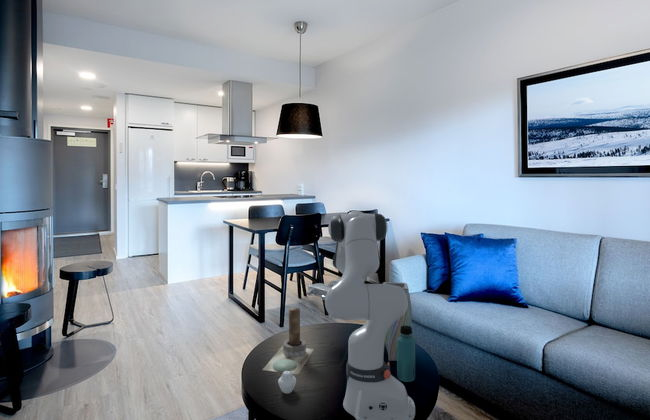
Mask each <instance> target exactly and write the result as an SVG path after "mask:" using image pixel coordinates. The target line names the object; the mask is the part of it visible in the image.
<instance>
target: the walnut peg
mask: <svg viewBox="0 0 650 420" xmlns="http://www.w3.org/2000/svg"><path fill="white" fill-rule="evenodd" d="M288 339H289V345H290V346H298V345H300V339H301V309H300V308H299V307H289V309H288Z"/></svg>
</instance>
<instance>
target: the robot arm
mask: <svg viewBox="0 0 650 420" xmlns="http://www.w3.org/2000/svg"><path fill="white" fill-rule="evenodd" d="M327 229H328V234H329V236H330V238H331V240H332V241H334V242H336V245H335V246H336V247H335V252H334V255H333V257H332V266H333V268H335V270H338V271H339V272H340V273H341V274H342V276H341V277H340V278H338V279H332V280H331V281H329V282H328V284H325V283H322V282H321V283H314V284H313V283H312V284H309V285H308V287H307V289H308V290H307V291H306V296H310V297H311V296H312V295H314V296H317V297H321V299H322V300H323V301H324V306H325V309H326V312H327V314H328V315H329V316H330V317H331V318H333V319H338V320H341V321H366V322H365V323H364V325H362V326H361V327H359V328H357V329H355V330H354V331H352V333H351V334H350V335H349V338H348V347H347V348H348V352H347V353H348V356H347V357H348V358H347V361H346V379H347V380H346V381H347V382H346V390H345V396H344V398H343V403H342V406H343V408H344V410H345V411H346V412H347V413H348V414H350V415H351V416H353V417H354V418H355V420H414V419H415V416H416V405H415V402H414V399H412V397H410V396H409V395H408V393H407V389H406V386H405V385H404V383H402V381H401V380H399V379H398V378H396V377H395V376H393V375H392V374H391V366H390V361H388V362H385V361H384V353H385V338H386V335H387V333H388V331H389V329H390V327H391V326H392V325H393V324H394V322H395V321H397V320H398V319H399V318H400V317H402V316H403V315H404V313H405V312H406V310H407V306H408V299H407V296H406V293H405V292H404V290H403V289H402V288H401V287H400V286H395V285H390V284H383V283H366V281H367V279H368V277H370V276H372V275H374V274H376V272H377V271H378V270H379V267H380V258H379V257H380V256H379V249H378V248H379V247H378V241H379V242H380V241H382V240H384V239H385V238H386V236H387V232H388V222H387V220H386V217H385V216H384V215H383V214H381V213H376V212H374V213H366V212H365V213H364V212H362V211H360V210H353V211H352V210H351V211H350V212H348V213H346V214H345V213H344V214H336V215H332V217H331V218H330V220H329V222H328V228H327Z"/></svg>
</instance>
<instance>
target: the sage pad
mask: <svg viewBox="0 0 650 420" xmlns="http://www.w3.org/2000/svg"><path fill="white" fill-rule="evenodd" d="M295 368H296V362H295V361H293V360H290V359H282V360H278V361H276V362H274V363H273V369H274V370H276V371H281V372H280V373H282V372H285V371H291V370H293V369H295Z"/></svg>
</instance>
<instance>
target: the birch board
mask: <svg viewBox="0 0 650 420" xmlns="http://www.w3.org/2000/svg"><path fill="white" fill-rule="evenodd" d="M314 350H315V349H314V348H309V347H307V342H306V340H304V339H302V338H300V345H298V346H290V345H289V338H288V339H286V340H284V342H283V343H282V346H281V347H280V348H279V350H278V351H277V352H276V353H275V354H274V355H273V357H272V358H271V359H270V360H269V361H268V362H267V364H266V365H265V366H264V367H263V368H262V371H267V372H268V371H269V372H275V373H283V372H281V371H276V370H274V369H273V363H274V362H276V361H278V360H282V359H290V360H293V361H295V362H296V368H295V369H293V370H291V371H290V372H292V375H299V374H300V373H301V371H302V369H303V368H304V366H305V364H306V363H307V362H308V360H309V358H310V356H311V355H312V354H313V351H314Z"/></svg>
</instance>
